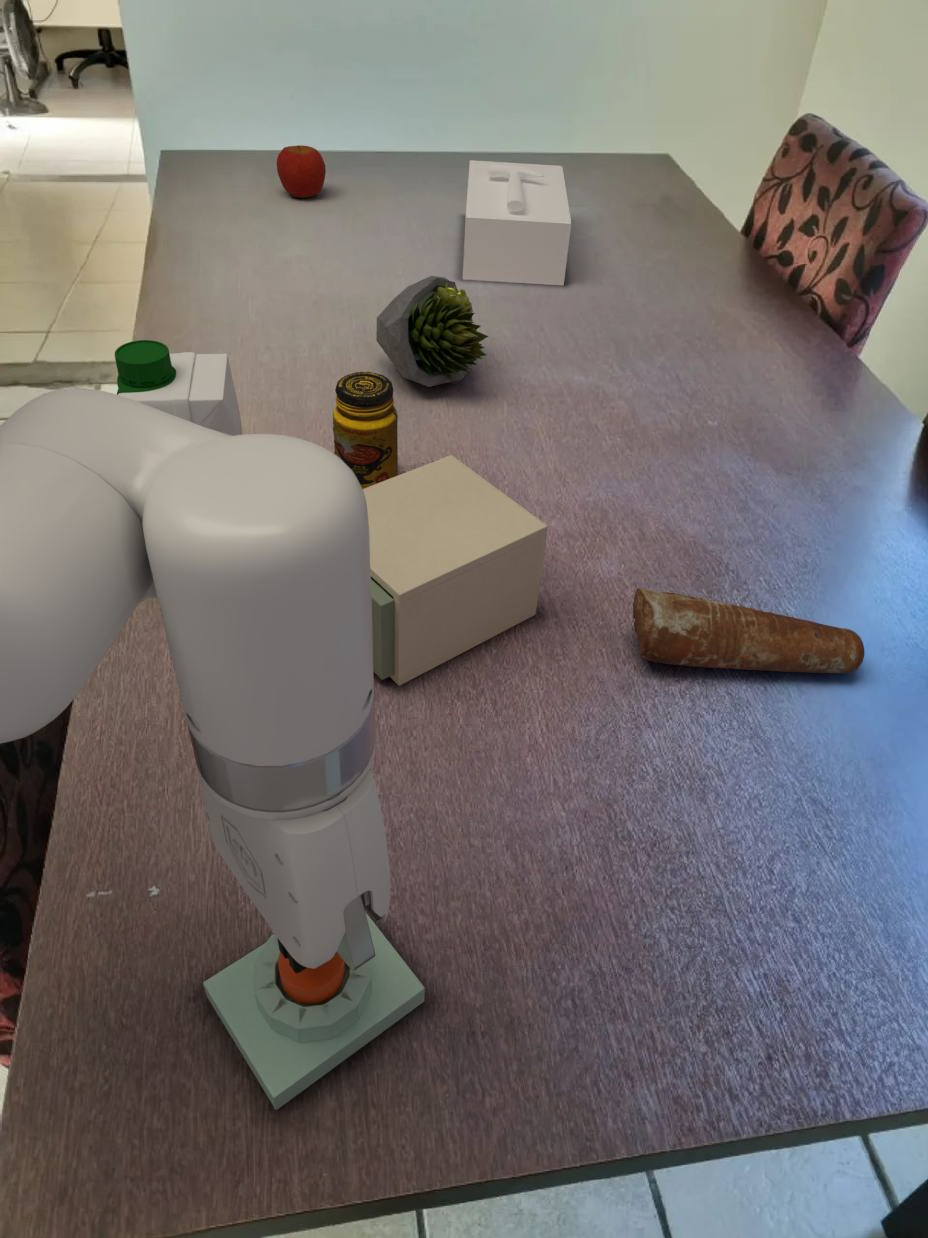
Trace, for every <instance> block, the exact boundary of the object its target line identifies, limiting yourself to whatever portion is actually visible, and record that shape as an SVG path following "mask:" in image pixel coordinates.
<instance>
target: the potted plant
mask: <svg viewBox="0 0 928 1238" xmlns="http://www.w3.org/2000/svg"><path fill="white" fill-rule="evenodd" d="M472 305H473V304H472V302H471V301H470V298H469V296H468V295H467V291H466V290H465V289H463V288H461V289H460V290H459V289H458V288H457V283H456V282H455V281H452V280H449V279H448V278H446V277H445V276H437V275H429V276H427V277H425V278H423V279H421V280H419V281H416V282H414V283H412V284H410V285H408V286H406V287H405V288H404V289H403V290H402V291H401V292H399V294H397V295H396V296H395V297H394V298H393V299H392V300H391V301H390V302H389V303H388V304H387V306H386V307H385V308H384V309H383V310H382V311H381V312H380V314H379V315H378V316H376V342H377V344H378V345H379V347H380V348H381V349H382V350H383V352H384V353H385V355H386V356H387V357H388V359H389V360H390V361H391V363H392V364H393V365H394V367H395V368H396V370H397V371H398V373H399V374H400V376H401V377H402V378H404V379H406V380H409V381H412V382H414V383H417V384H420V385H422V386H425V387H428V388H430V387H433V386H439V385H442V384H453V385H457V384H458V383H459V382H461V381H462V380H463V379H464V378H465V376H466V374H467V373H470V371H469V370H472V368H471V367H472V366H478V364H477V363H476V362H475V361H478V359H480V360H482V359H483V358H482V357H486V356H488V354H487V353H485V352H484V351H483V350H482V349H485V348H486V347H485V346H483V344H482V343H480V342H482V341H484V340H485V339H487V338H489V337H490V336H489V335H486V334H484V333H482V332H480V331H478V329H480V328H481V325H480V324H475V322H474V321H473V316H474V314H475V312H473V310H474V309H473V306H472Z"/></svg>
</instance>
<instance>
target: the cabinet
mask: <svg viewBox="0 0 928 1238" xmlns="http://www.w3.org/2000/svg"><path fill="white" fill-rule="evenodd" d="M363 492H364V495H365V498H366V502H367V509H368V520H369V534H370V567H371V577H372V578H373V579H374V580H376V581H377V582H378V583H379V584H380V585H381V586H382V587H383V588H384V589H385V590H386V591H387V592H389V593H390V594H391V595H392V596H393V597H394V598H393V599H394V674H393V675H391V676H389V678H390V679H391V680H392V681H393V682H394V683H395V684H396V685H397V686H399V687H400V686H402V685H404V684H406V683H407V682H410V681H411V680H413V679H416V678H417V677H419V676H421V675H424V674H425V673H427V672H429V671H431V670H433V669H435V668H436V667H439V666H440V665H442V664H444V663H447V662H448V661H450V660H452V659H454V658H456V657H458V656H459V655H461V654H463V653H465V652H467V651H469V650H471V649H473V648H474V647H477V646H478V645H480V644H482V643H485V642H486V641H489V640H490V639H492V638H493V637H496V636H498V635H499V634H501V633H503V632H505V631H507V630H509V629H511V628H513V627H515V626H517V625H518V624H521V623H522V622H524V621H526V620H528V619H530V618H532V617H534V616H536V615H537V608H538V603H539V602H538V601H539V594H540V586H541V579H542V573H543V565H544V557H545V550H546V543H547V537H548V536H547V535H548V525H547V524H546V523H545V522H543V521H542V520H541V519H540V518H538V517H537V516H535V515H534V514H532V513H531V512H529V511H528V510H527V509H525V507H523V506H521V505H520V504H519V503H517V502H516V501H515V500H513V498H511V497H509V496H508V495H507V494H505V493H504V492H503V491H501V490H500V489H498V488H497V487H496V486H494V485H493V484H491V483H490V482H489V481H488V480H486V479H484V478H483V477H482V476H481V475H479V474H478V473H477V472H475V471H474V470H472V468H470V467H469V466H467V465H466V464H465V463H463V462H461V460H459V459H458V458H456V457H455V456H454V455H452V454H449V455H447V456H445V457H442V458H439V459H437V460H435V461H432V462H429V463H426V464H423V465H421V466H419V467H416V468H414V469H411V470H409V471H406V472H403V473H401V474H398V476H395V477H393V478H390V479H388V480H385V481H383V482H380V483H377V484H375V485H372V486H370V487H367V488H365V489H363Z"/></svg>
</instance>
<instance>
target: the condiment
mask: <svg viewBox="0 0 928 1238" xmlns="http://www.w3.org/2000/svg"><path fill="white" fill-rule="evenodd" d="M334 391H335V394H336V395H335V397H336V398H335V405H336V406H335V407H334V409H333V411H332V425H333V426H332V431H333V432H332V433H333V438H334V439H333V444H334V445H333V446H334V447H333V449H334V450H333V453H334V454H335V455H337V456H338V457H339V458H340V459H341V460H342V461H343V462H344V463H345V464H346V465H347V466H348V467H349V468H350V469H351V470H352V471H353V472H354V474H355V476H356V478H357V479H358V481H359V483H360V485H361V487H362V489H365V488H367V487H370V486H372V485H375V484H377V483H380V482H383V481H385V480H388V479H390V478H393V477H395V476H398V475H399V474H398V473H399V471H398V470H399V467H398V465H399V464H398V463H399V461H398V459H399V458H398V456H399V455H398V453H399V451H398V449H399V447H398V420H399V419H398V416H399V415H398V411H397V409H396V406H395V404H394V403H395V400H394V386H393V383H392V381H391V380H390V379H389V378H388V377H387V376H386V375H384V374H380V373H377V372H372V371H357V372H356V371H355V372H352V373H349V374H346V375H343V377H341V378H340V379H339V380H338V381H337V383H336V385H335V390H334Z"/></svg>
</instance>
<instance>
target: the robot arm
mask: <svg viewBox="0 0 928 1238" xmlns="http://www.w3.org/2000/svg"><path fill="white" fill-rule="evenodd" d="M151 598H156V599H157V602H158V606H159V610H160V614H161V619H162V623H163V628H164V632H165V636H166V640H167V644H168V649H169V654H170V657H171V661H172V667H173V671H174V674H175V675H174V676H175V679H176V684H177V687H178V688H177V689H178V692H179V696H180V700H181V705H182V710H183V713H184V715H185V720H186V726H187V729H188V733H189V738H190V743H191V748H192V750H193V756H194V759H195V765H196V768H197V772H198V775H199V781H200V788H201V789H200V790H201V794H202V801H203V807H204V812H205V813H204V814H205V818H206V824H207V828H208V832H209V835H210V838H211V840H212V843H213V844H214V846H215V848H216V850H217V852H218V853H219V855H220V856H221V858H222V859H223V861H224V862H225V864H226V865H227V867H228V868H229V870H230V872H231V873H232V874H233V876H234V878H235V879H236V880H237V882H238V883H239V885H240V886H241V888H242V889H243V890H244V892H245V893H246V895H247V896H248V898H249V899H250V901H251V902H252V904H253V905H254V906H255V908H256V909H257V910H258V912H259V914H260V915H261V916H262V919H264V921H265V922H266V923H267V925H268V926H269V928H270V929H271V930H272V932H273V934H275V935H276V936H277V939H278V945H279V950H280V952H281V953H282V955H283V956H284V958H288V959H289V964H290V966H291V968H292V969H293V971H294V972H295V973H300V972H301V971H303V970H304V969H306V968H312V969H315V968H317V967H319V966H320V965H322V964H324V963H326V962H327V961H329V960H330V959H332V958H333V956H334V955H335V954H336V953H337V954H338V955H339V956H340V957H341V958H342V959H343V961H344V962H345V963H346V964H347V965H348V966H349V968H350V969H351V970H352V971H355V970H356V969H358V968H359V967H361V966H362V965H363V964H365V963H366V962H368V961H369V960H371V959H372V958H374V957H375V950H374V946H373V942H372V938H371V933H370V929H369V925H368V921H367V916H366V913H367V912H368V915H369V916H370V917H371V919H373V921H375V922H376V923H377V922H381V923H382V924H383V923H385V922H386V920H387V918H388V915H389V912H390V906H391V897H392V896H391V894H392V890H391V889H392V883H391V882H392V881H391V867H390V857H389V849H388V841H387V833H386V828H385V822H384V816H383V810H382V807H381V801H380V797H379V792H378V787H377V784H376V780H375V775H374V774H373V771H372V769H371V768H372V766H373V763H374V760H375V755H376V749H377V747H376V746H377V743H376V741H377V738H376V737H377V736H376V735H377V734H376V701H375V700H376V699H375V685H374V681H375V680H374V671H373V634H372V600H371V567H370V534H369V520H368V509H367V502H366V498H365V495H364V492H363V489H362V487H361V485H360V483H359V481H358V479H357V478H356V476H355V474H354V472H353V471H352V470H351V469H350V468H349V467H348V466H347V465H346V464H345V463H344V462H343V461H342V460H341V459H340V458H339V457H338V456H337V455H335V454H334V452H333V451H331V450H329V449H327V448H325V447H323V446H321V445H320V444H317V443H314V442H312V441H308V440H306V439H303V438H300V437H295V436H291V435H286V434H276V433H247V434H246V433H245V434H244V433H243V435H236V436H231V435H228V434H225V433H221V432H218V431H215V430H212V429H209V428H206V427H203V426H200V425H198V424H195V423H192V422H190V421H187V420H185V419H182V418H179V417H177V416H174V415H171V414H169V413H166V412H163V411H161V410H158V409H156V408H153V407H151V406H148V405H145V404H143V403H140V402H137V401H135V400H132V399H129V398H125V397H122V396H119V395H117V393H113V392H109V391H104V390H100V389H94V388H83V387H67V388H58V389H55V390H51V391H48V392H45V393H42V394H40V395H38V396H36V397H34V398H32V399H30V400H29V401H28V402H26V403H25V404H24V405H22V406H21V407H19V408H18V409H16V410H15V411H14V412H13V413H12V414H11V415H10V416H9V417H8V418H7V419H5V420H4V422H2V424H0V744H4V743H5V744H7V743H10V742H12V741H13V742H14V741H16V740H20V739H24V738H26V737H28V736H30V735H33V734H34V733H36V732H38V731H40V730H41V729H43V728H44V727H46V726H47V725H48V724H50V723H51V722H53V721H54V720H55V719H57V718H58V717H59V716H60V715H61V714H62V713H63V712H64V711H65V710H66V709H67V708H68V706H70V704H71V703H72V702H73V701H74V699H75V698H76V697H77V695H78V694H79V693H80V692H81V691H82V689H83V688H84V687H85V686H86V685H85V684H86V683H87V682H88V681H89V679H90V678H91V677H92V675H93V674H94V672H95V671H96V669H97V668H98V667H99V665H100V663H101V662H102V660H103V659H104V657H105V656H106V655H107V653H108V652H109V650H110V649H111V647H112V645H114V642H115V641H116V639H117V638H118V636H119V635H120V633H121V632H122V630H123V629H124V628H125V625H126V624H127V622H128V621H129V620H130V618H131V616H132V615H133V613H134V612H135V611H136V609H137V607H138V606H139V605H140V604H141V603H143V602H145V601H148V600H150V599H151ZM366 911H367V912H366Z"/></svg>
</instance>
